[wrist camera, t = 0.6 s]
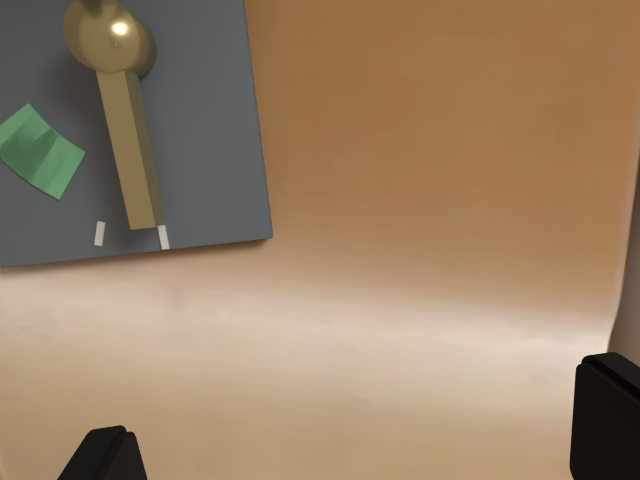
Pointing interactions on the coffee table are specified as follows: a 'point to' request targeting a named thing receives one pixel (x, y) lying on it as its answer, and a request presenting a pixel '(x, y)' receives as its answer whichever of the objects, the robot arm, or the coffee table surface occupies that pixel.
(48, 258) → the dial plate
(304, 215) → the coffee table surface
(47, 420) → the coffee table surface
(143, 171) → the needle
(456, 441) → the coffee table surface
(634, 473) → the robot arm
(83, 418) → the coffee table surface
